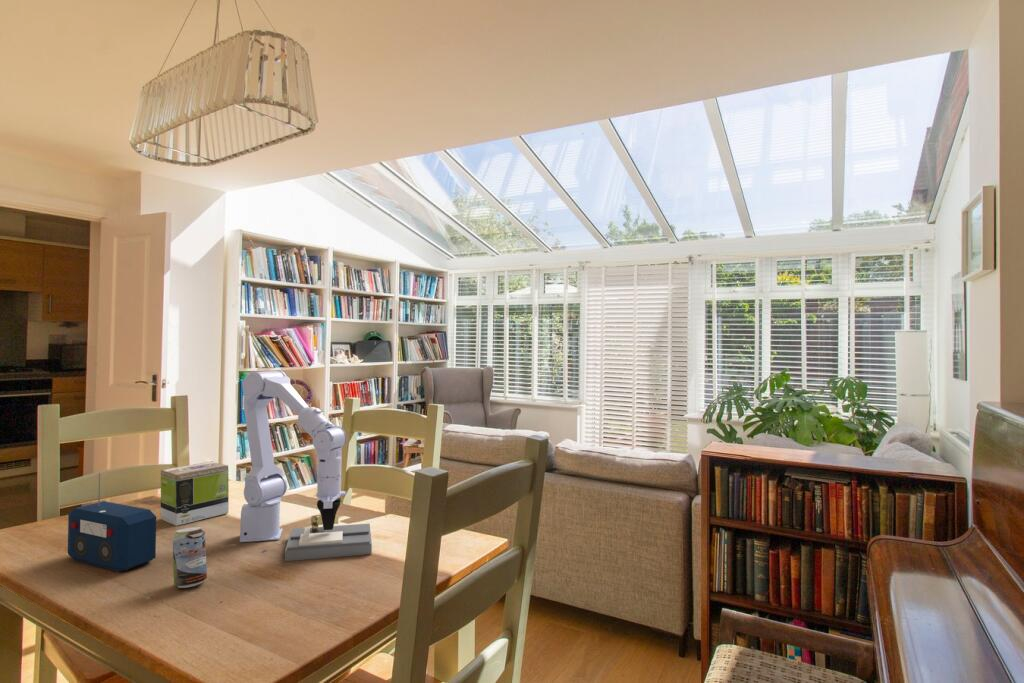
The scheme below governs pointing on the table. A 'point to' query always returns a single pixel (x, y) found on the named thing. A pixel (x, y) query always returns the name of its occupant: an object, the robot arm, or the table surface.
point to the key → (320, 521)
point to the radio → (111, 535)
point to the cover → (320, 538)
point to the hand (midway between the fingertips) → (328, 529)
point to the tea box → (194, 492)
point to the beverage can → (189, 557)
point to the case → (352, 544)
